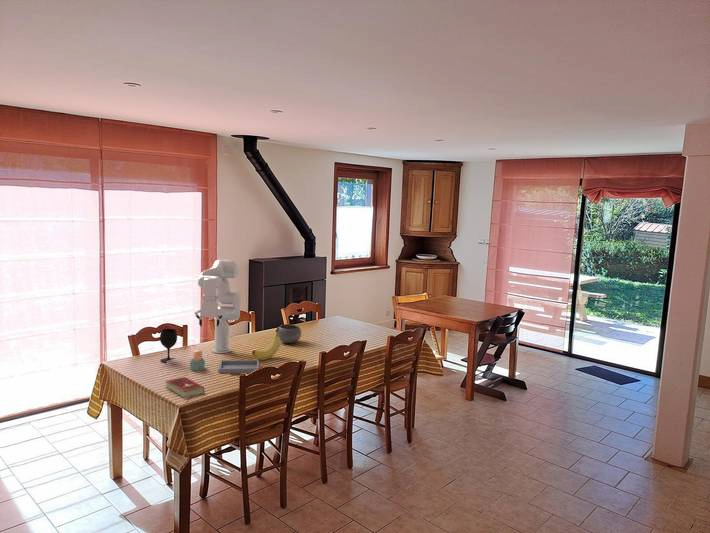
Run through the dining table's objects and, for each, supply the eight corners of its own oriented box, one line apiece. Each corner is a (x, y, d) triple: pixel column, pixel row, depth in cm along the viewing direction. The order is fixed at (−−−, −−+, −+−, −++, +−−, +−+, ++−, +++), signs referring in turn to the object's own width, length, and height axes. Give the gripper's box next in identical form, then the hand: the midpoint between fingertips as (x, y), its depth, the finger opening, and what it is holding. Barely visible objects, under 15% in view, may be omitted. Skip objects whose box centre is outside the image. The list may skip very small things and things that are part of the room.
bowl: (303, 340, 410) (303, 324, 409) (298, 346, 393) (298, 329, 391) (280, 338, 412) (280, 322, 411) (274, 344, 394) (274, 328, 393)
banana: (255, 362, 349) (255, 332, 346) (249, 360, 352) (250, 331, 350) (281, 356, 365) (282, 327, 363) (276, 354, 369) (277, 326, 367)
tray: (220, 365, 340) (220, 360, 339) (258, 365, 344) (258, 359, 344) (218, 374, 322) (218, 368, 322) (258, 373, 327) (258, 368, 326)
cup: (191, 368, 332) (191, 357, 331) (205, 367, 333) (205, 357, 333) (189, 372, 324) (189, 361, 323) (204, 372, 325) (204, 361, 324)
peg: (193, 367, 330) (193, 349, 329) (202, 367, 331) (202, 349, 330) (192, 369, 325) (193, 352, 324) (201, 369, 326) (201, 352, 325)
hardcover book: (185, 383, 306) (185, 376, 305) (204, 393, 291) (204, 386, 291) (165, 387, 297) (165, 380, 297) (183, 398, 283) (183, 390, 282)
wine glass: (180, 360, 346) (180, 330, 344) (167, 364, 337) (167, 333, 335) (169, 357, 351) (169, 327, 349) (156, 361, 342) (156, 330, 340)
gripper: (224, 297, 328) (224, 324, 330) (195, 297, 324) (194, 324, 326) (224, 299, 321) (223, 327, 323) (194, 299, 317) (193, 327, 319)
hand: (209, 326), depth 324 cm, fingers open, 9 cm apart
